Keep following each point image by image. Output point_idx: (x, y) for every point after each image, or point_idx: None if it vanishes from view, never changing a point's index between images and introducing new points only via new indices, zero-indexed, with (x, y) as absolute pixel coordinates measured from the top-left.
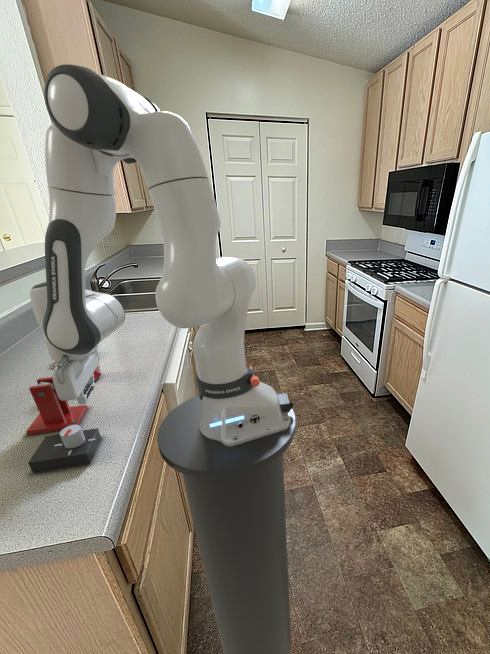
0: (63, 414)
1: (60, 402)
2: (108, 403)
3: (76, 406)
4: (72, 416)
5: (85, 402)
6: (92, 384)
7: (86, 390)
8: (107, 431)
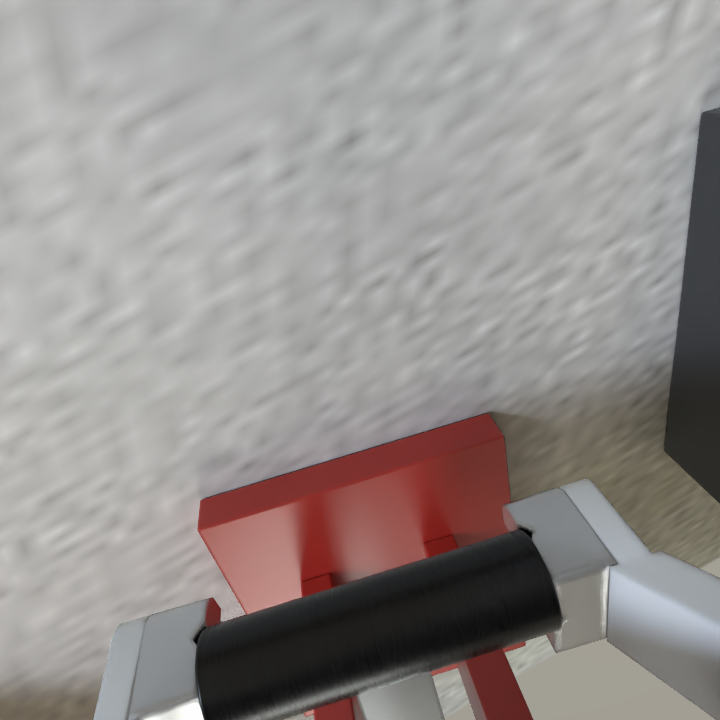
0: None
1: (358, 704)
2: (79, 374)
3: (234, 582)
4: (389, 522)
5: (593, 494)
6: (169, 708)
7: (429, 663)
8: (605, 102)
